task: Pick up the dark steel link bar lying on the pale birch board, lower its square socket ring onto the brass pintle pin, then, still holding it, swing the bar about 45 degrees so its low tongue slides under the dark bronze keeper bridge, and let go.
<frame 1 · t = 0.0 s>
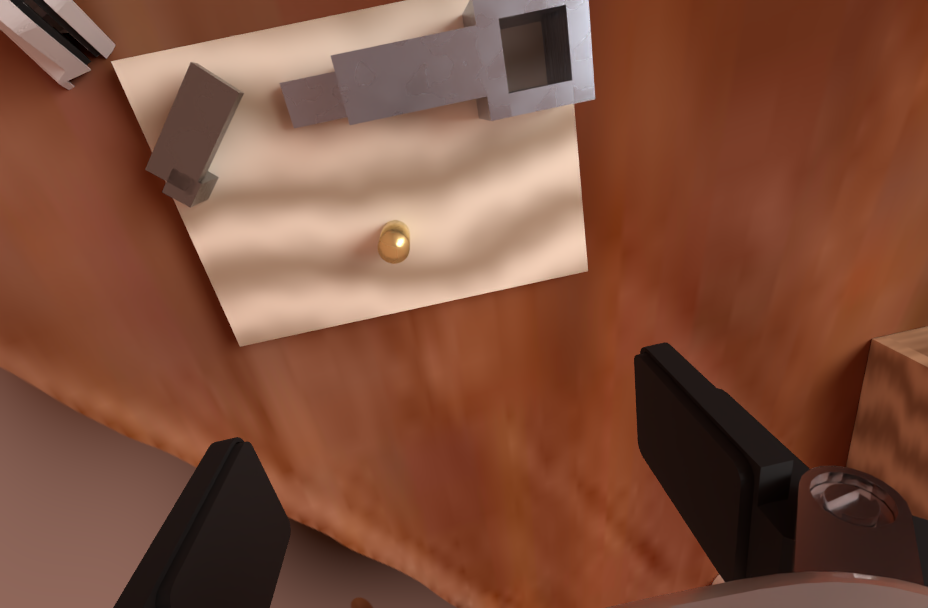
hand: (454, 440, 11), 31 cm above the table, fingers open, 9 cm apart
pintle: (396, 228, 40), resting on board
link: (411, 81, 34), point 2 cm above the table, touching board
keeper: (220, 128, 36), resting on board
board: (383, 176, 38), on the table
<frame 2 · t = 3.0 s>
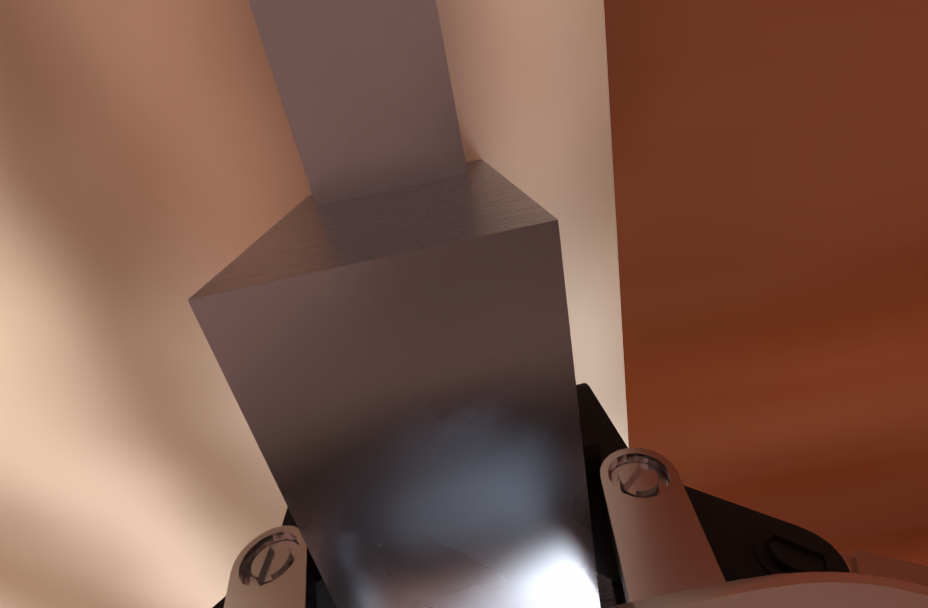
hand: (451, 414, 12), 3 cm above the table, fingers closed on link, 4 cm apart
link: (437, 348, 12), point 2 cm above the table, touching board, gripper
board: (164, 236, 12), on the table
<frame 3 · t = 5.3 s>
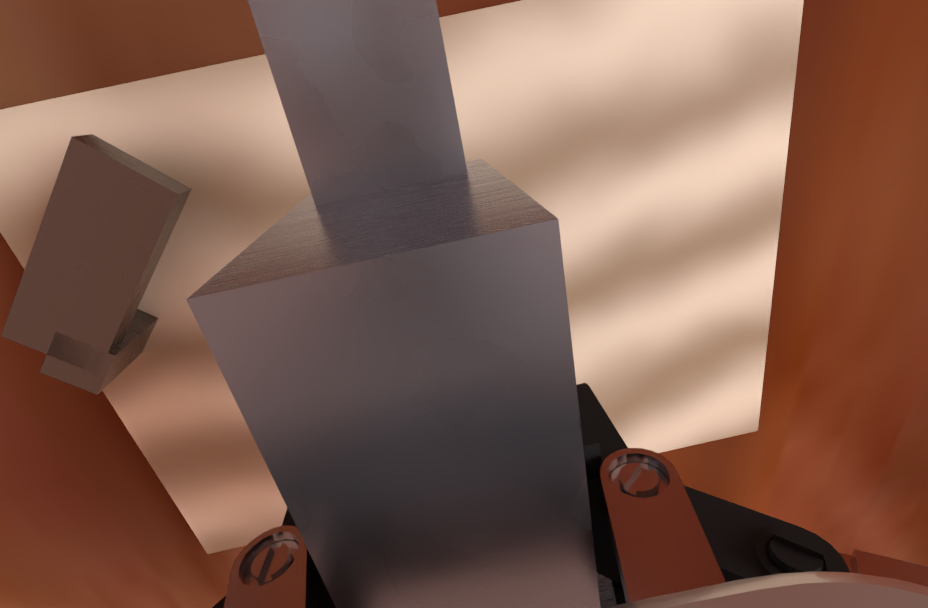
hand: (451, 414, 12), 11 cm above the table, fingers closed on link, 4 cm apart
link: (437, 348, 12), point 11 cm above the table, touching gripper
keeper: (161, 228, 20), resting on board
board: (440, 296, 23), on the table
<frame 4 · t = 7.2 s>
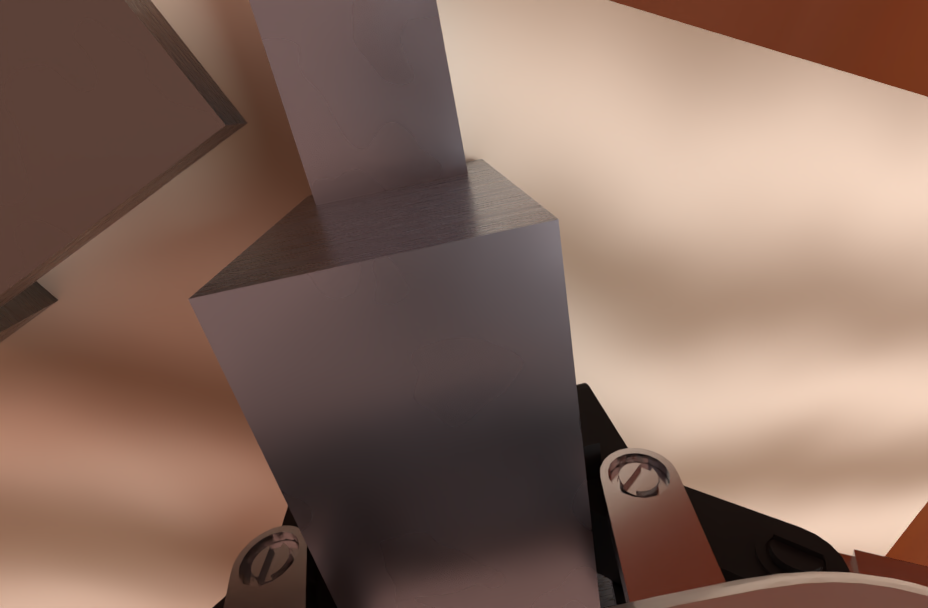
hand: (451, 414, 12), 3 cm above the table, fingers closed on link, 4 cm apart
link: (437, 347, 12), point 2 cm above the table, touching gripper
keeper: (133, 152, 11), resting on board
board: (504, 406, 16), on the table
when the fingers open (3 cm above the table, at t = 8.0 s): link stays where it is, resting on board.
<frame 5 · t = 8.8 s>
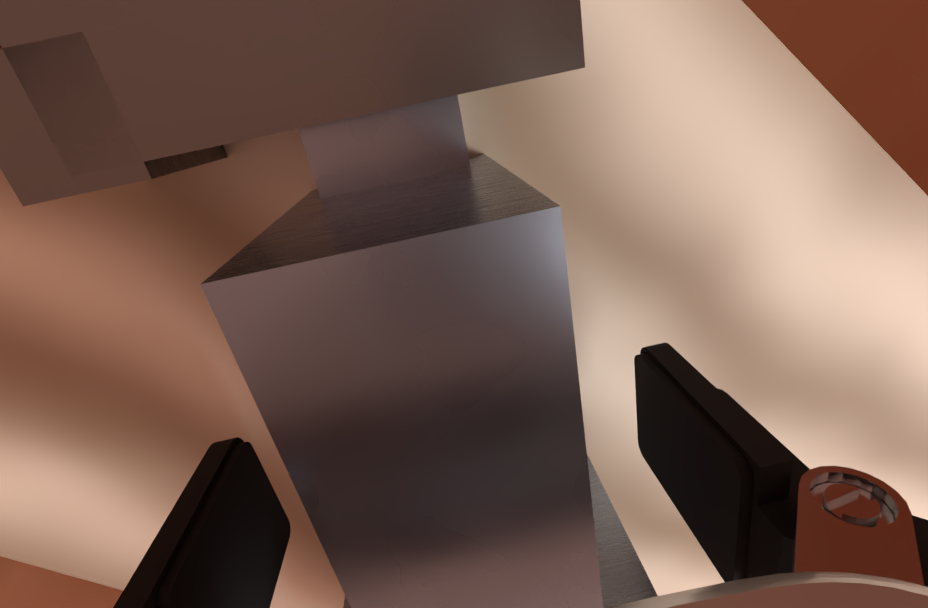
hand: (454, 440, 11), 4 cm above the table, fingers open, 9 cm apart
link: (439, 341, 12), point 2 cm above the table, touching board
keeper: (345, 44, 11), resting on board
board: (551, 415, 16), on the table
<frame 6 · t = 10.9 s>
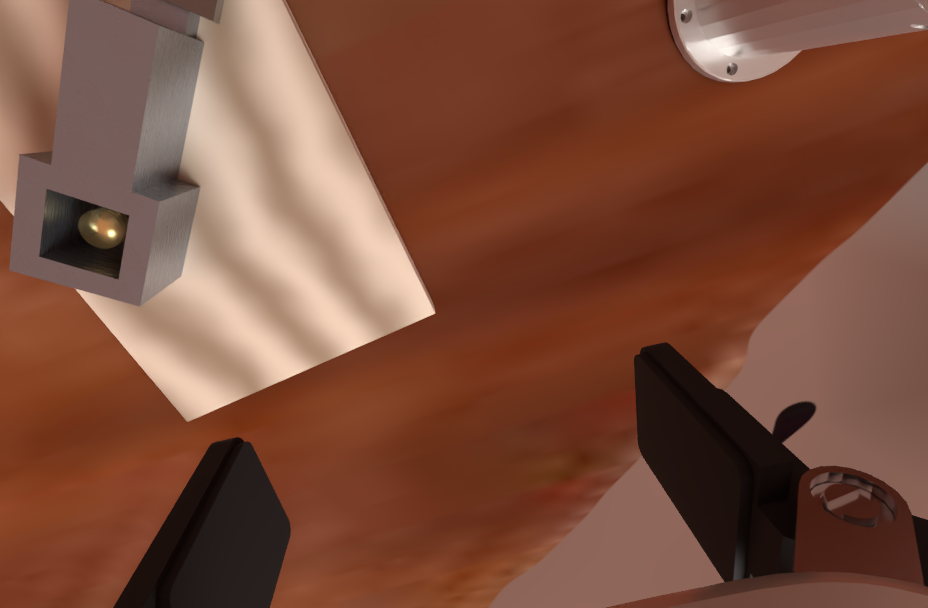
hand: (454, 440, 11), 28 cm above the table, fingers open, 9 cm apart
pintle: (149, 210, 34), resting on board
link: (157, 101, 30), point 2 cm above the table, touching board
board: (204, 186, 34), on the table
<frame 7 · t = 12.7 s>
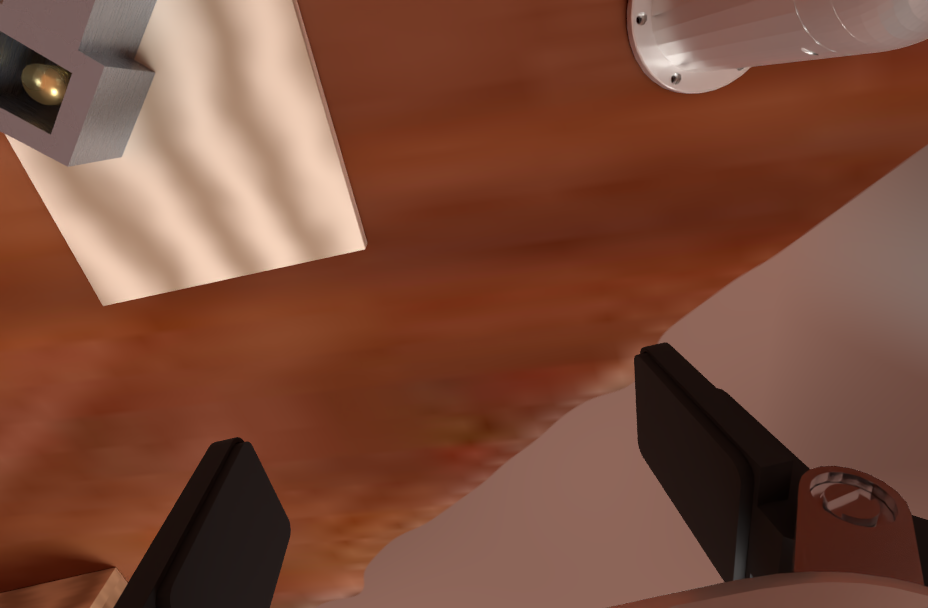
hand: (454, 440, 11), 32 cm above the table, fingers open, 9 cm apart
pintle: (103, 88, 35), resting on board
board: (161, 75, 35), on the table
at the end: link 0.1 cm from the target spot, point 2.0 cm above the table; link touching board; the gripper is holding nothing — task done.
